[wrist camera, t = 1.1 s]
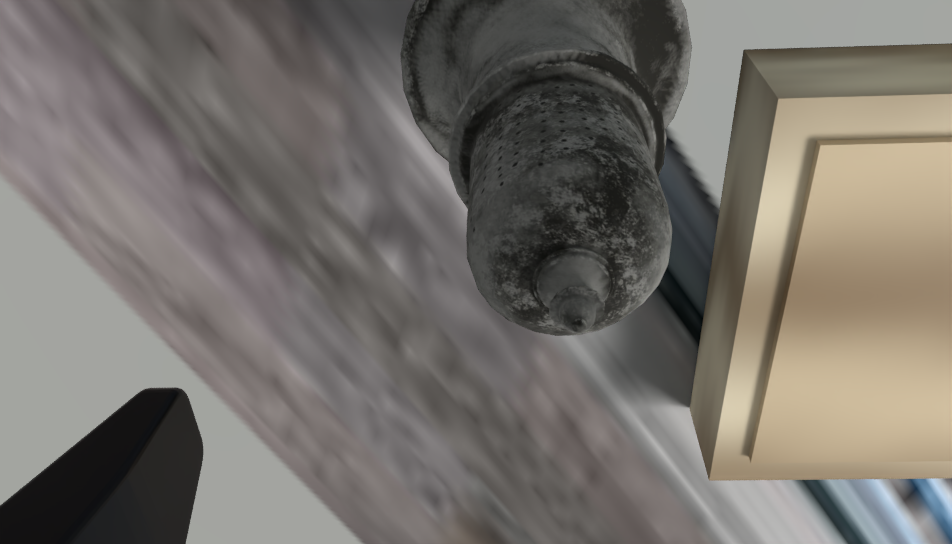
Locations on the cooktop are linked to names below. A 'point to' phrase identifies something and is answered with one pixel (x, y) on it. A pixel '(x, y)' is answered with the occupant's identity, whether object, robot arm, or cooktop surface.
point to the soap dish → (832, 270)
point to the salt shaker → (554, 145)
